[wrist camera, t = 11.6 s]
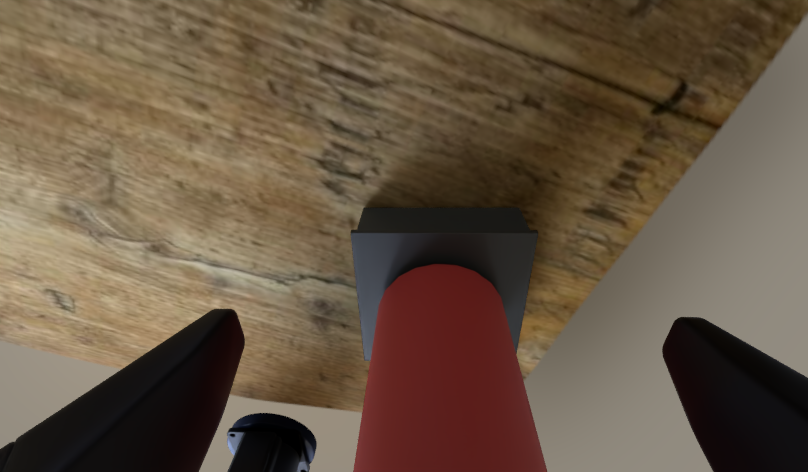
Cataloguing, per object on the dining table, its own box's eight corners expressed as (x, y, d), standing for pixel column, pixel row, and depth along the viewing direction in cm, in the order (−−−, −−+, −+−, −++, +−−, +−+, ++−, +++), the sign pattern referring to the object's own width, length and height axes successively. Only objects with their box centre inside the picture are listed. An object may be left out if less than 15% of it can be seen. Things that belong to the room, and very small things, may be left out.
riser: (504, 325, 25) (514, 363, 23) (370, 324, 26) (364, 360, 23) (523, 203, 21) (538, 233, 18) (359, 204, 21) (350, 232, 19)
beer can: (433, 365, 23) (440, 653, 13) (354, 302, 21) (286, 590, 11) (526, 312, 21) (628, 616, 10) (448, 233, 18) (478, 522, 8)
